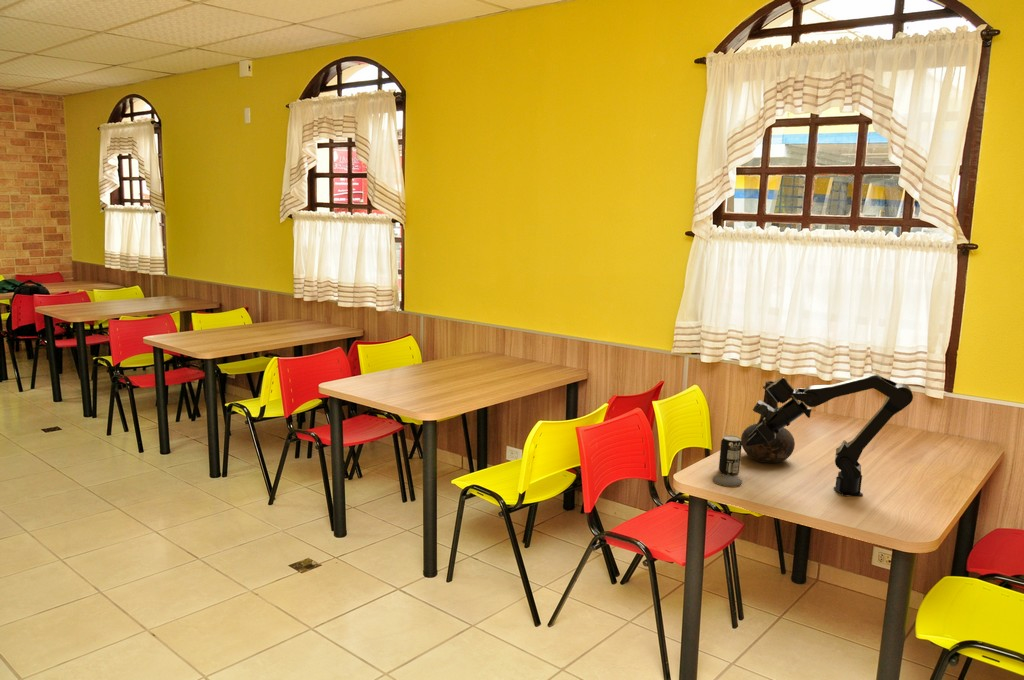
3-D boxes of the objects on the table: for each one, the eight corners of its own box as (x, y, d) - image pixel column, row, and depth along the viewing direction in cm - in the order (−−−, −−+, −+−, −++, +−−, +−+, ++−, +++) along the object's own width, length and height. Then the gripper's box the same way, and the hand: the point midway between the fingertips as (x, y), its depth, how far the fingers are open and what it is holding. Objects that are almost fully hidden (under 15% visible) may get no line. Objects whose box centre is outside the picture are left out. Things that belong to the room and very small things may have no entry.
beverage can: (723, 467, 261) (726, 433, 259) (742, 472, 257) (745, 437, 255) (715, 472, 256) (718, 437, 254) (733, 477, 252) (737, 442, 250)
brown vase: (801, 460, 272) (809, 383, 267) (777, 471, 260) (785, 390, 255) (754, 448, 285) (762, 374, 280) (730, 457, 272) (737, 380, 267)
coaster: (735, 477, 252) (735, 474, 252) (746, 487, 244) (746, 484, 243) (708, 476, 251) (708, 474, 251) (718, 486, 243) (719, 484, 242)
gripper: (773, 388, 256) (735, 415, 262) (767, 400, 239) (727, 428, 245) (795, 414, 254) (757, 441, 261) (791, 428, 238) (750, 456, 244)
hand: (747, 441), depth 253 cm, fingers open, 9 cm apart
